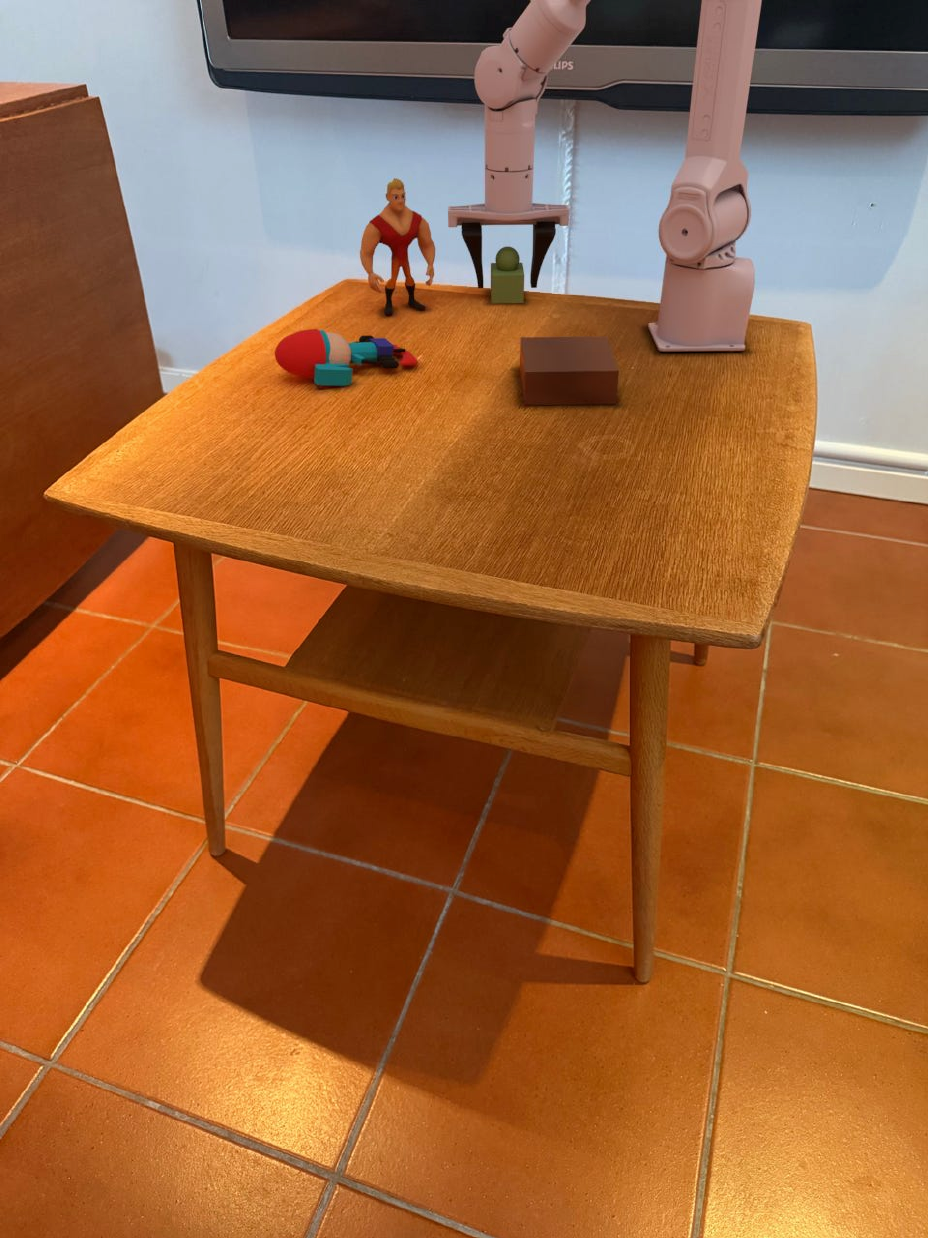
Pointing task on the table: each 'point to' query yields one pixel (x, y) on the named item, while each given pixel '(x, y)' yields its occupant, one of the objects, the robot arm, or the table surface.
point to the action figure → (397, 244)
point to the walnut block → (568, 371)
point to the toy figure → (335, 355)
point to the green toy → (507, 277)
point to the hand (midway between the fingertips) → (507, 285)
